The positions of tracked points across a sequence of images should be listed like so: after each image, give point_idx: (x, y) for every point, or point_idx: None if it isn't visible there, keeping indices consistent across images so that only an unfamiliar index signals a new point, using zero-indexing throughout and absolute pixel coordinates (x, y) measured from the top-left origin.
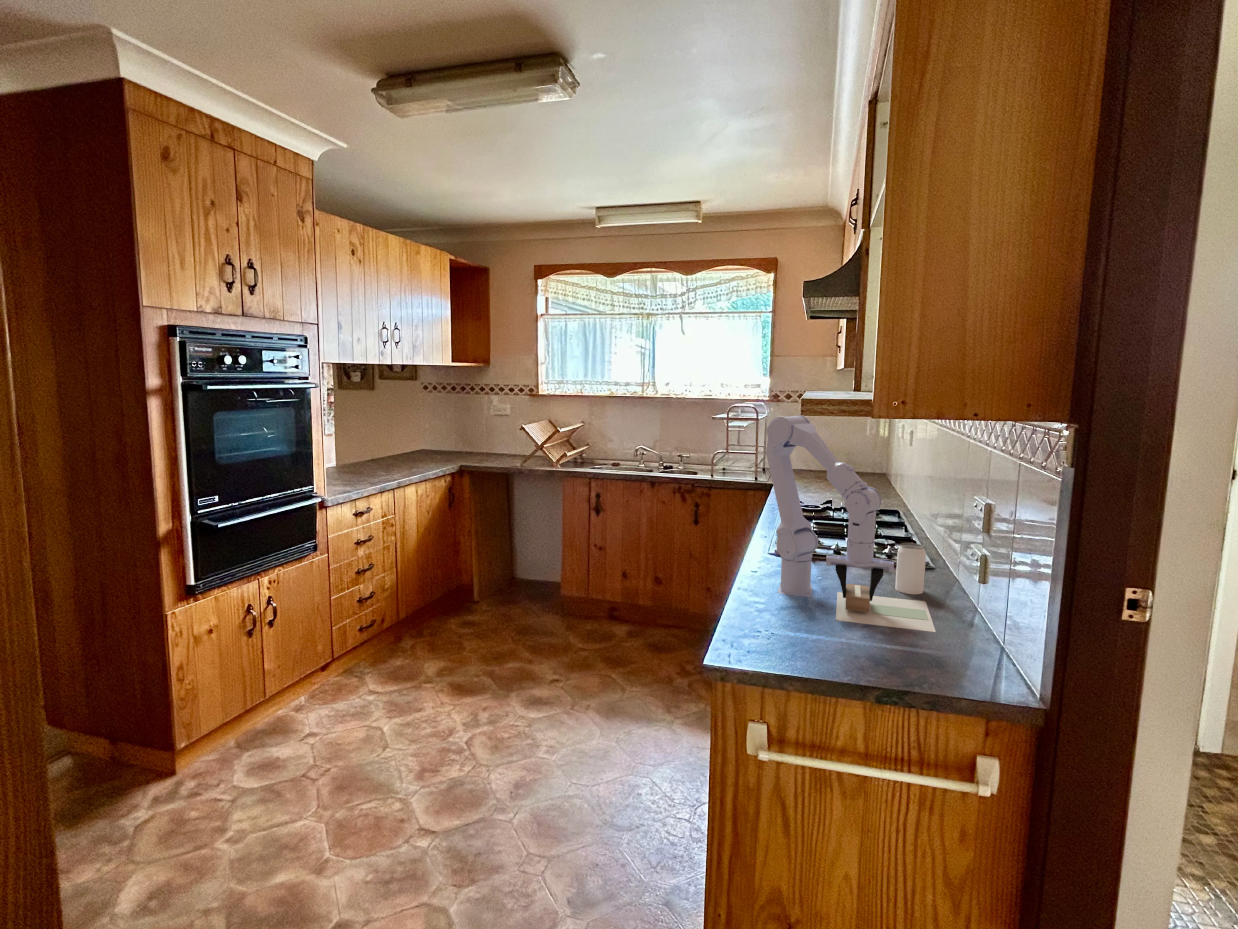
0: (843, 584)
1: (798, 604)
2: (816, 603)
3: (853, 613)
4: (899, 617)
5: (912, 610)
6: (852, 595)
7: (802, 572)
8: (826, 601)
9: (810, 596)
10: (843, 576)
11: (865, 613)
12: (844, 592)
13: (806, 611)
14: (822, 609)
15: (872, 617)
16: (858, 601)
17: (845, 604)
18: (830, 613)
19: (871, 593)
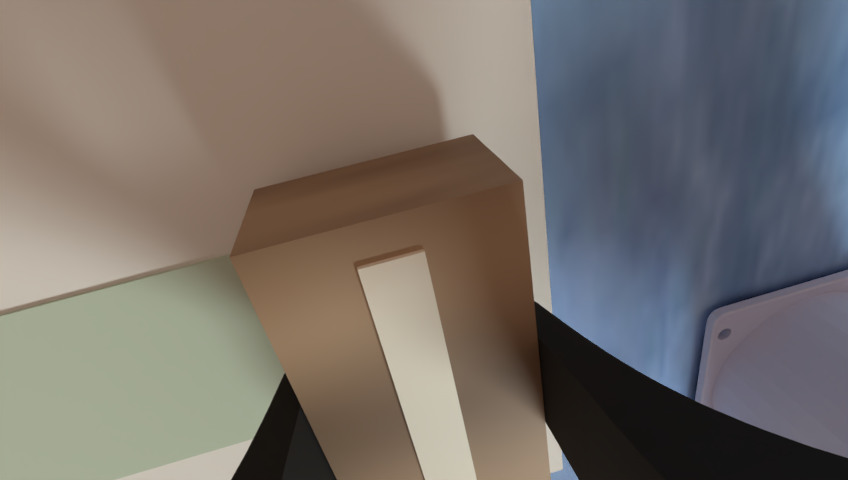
0: (614, 383)
1: (791, 171)
2: (670, 260)
3: None
4: (18, 299)
5: (25, 475)
6: (459, 268)
7: None
8: (609, 329)
9: (717, 321)
10: (711, 466)
11: None
12: (550, 328)
13: (754, 47)
14: (633, 168)
15: (217, 161)
16: (367, 202)
17: None
18: (572, 113)
19: (279, 422)
